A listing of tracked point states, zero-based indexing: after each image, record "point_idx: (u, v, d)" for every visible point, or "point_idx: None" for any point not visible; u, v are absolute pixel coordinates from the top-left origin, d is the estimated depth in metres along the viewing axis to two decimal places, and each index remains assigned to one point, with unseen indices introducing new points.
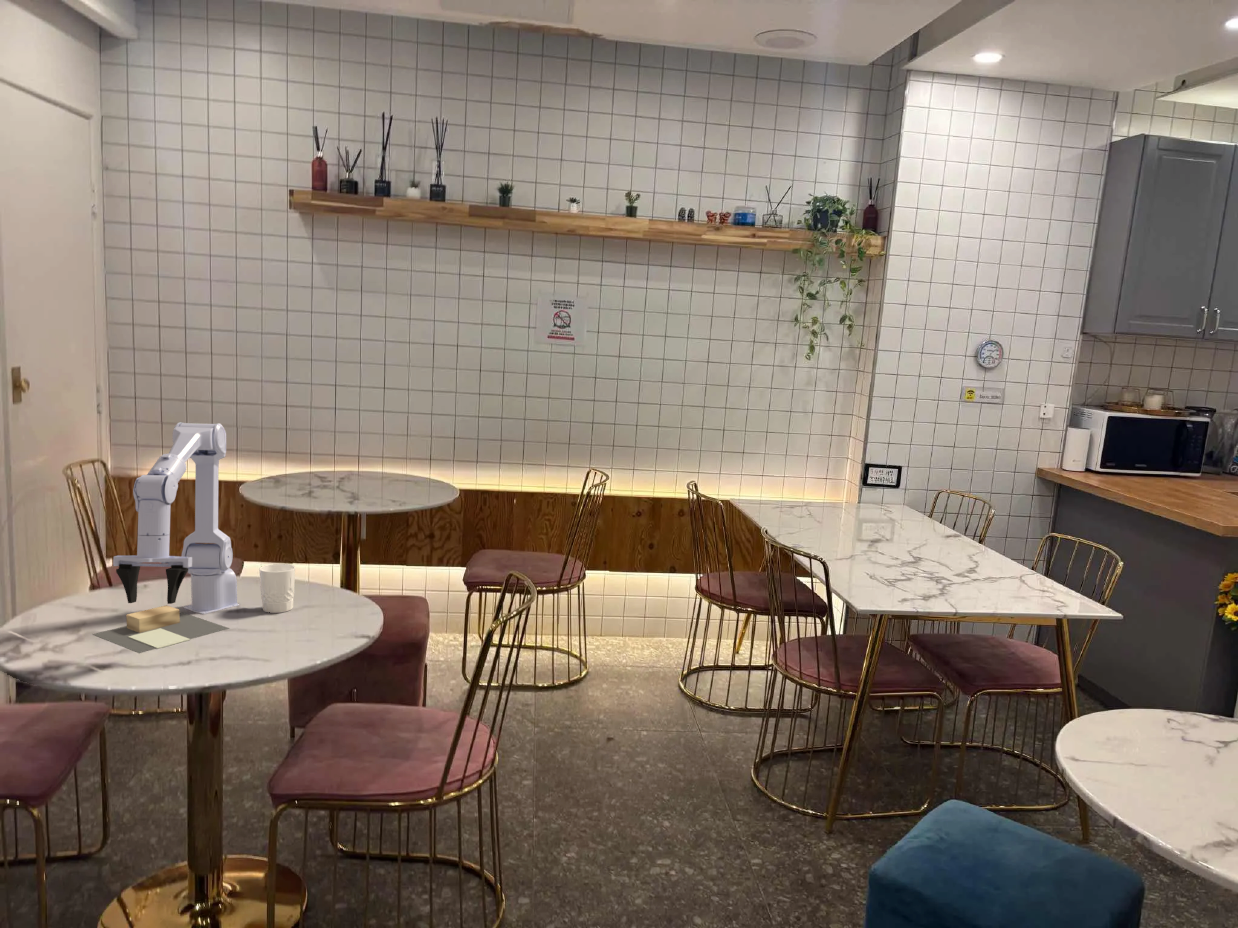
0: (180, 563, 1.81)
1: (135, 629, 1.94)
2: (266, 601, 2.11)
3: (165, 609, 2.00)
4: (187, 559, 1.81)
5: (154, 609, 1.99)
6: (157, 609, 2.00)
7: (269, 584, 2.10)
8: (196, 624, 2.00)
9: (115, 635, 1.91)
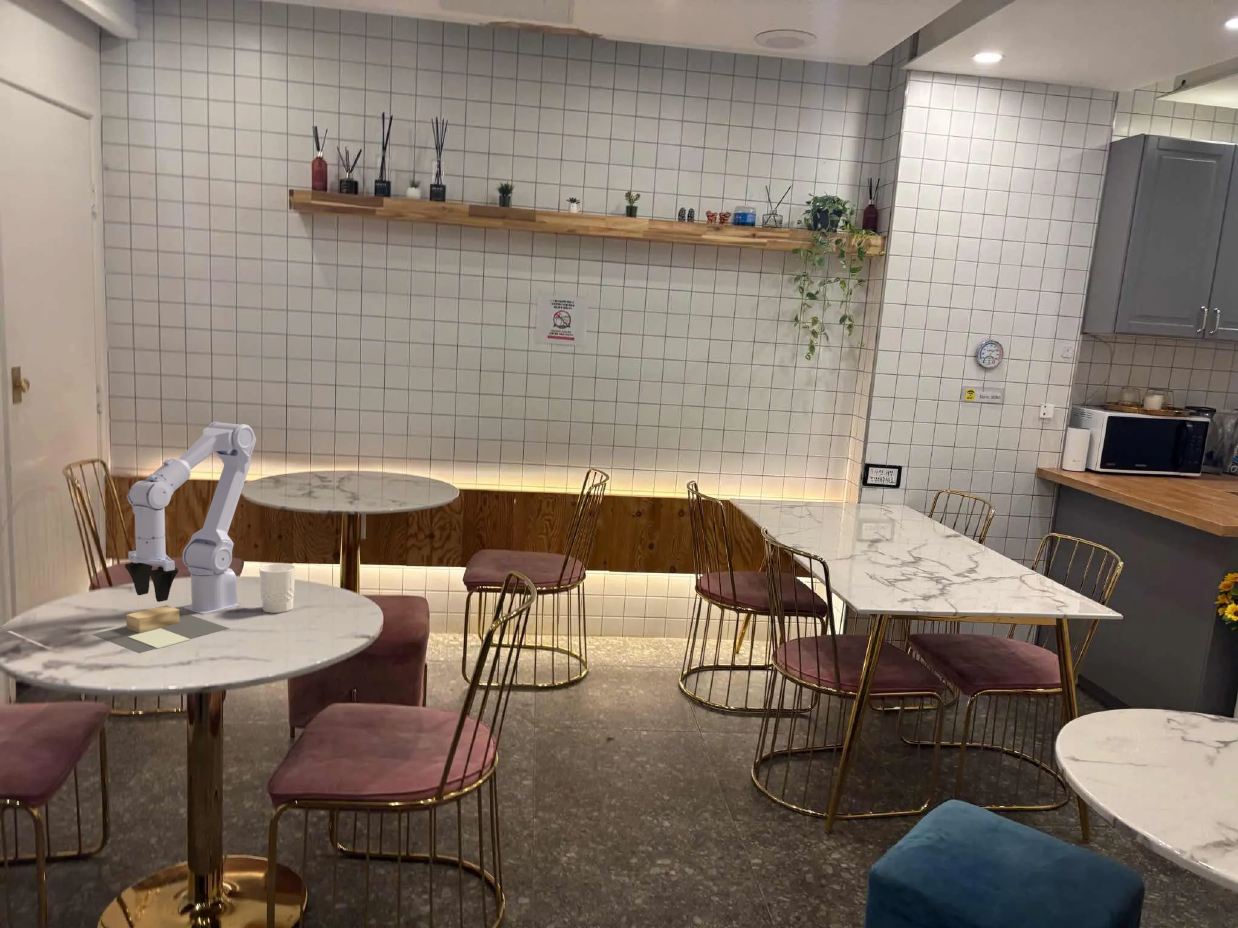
0: None
1: (135, 629, 1.94)
2: (266, 601, 2.11)
3: (165, 609, 2.00)
4: (165, 563, 1.92)
5: (154, 609, 1.99)
6: (157, 609, 2.00)
7: (269, 584, 2.10)
8: (196, 624, 2.00)
9: (115, 635, 1.91)
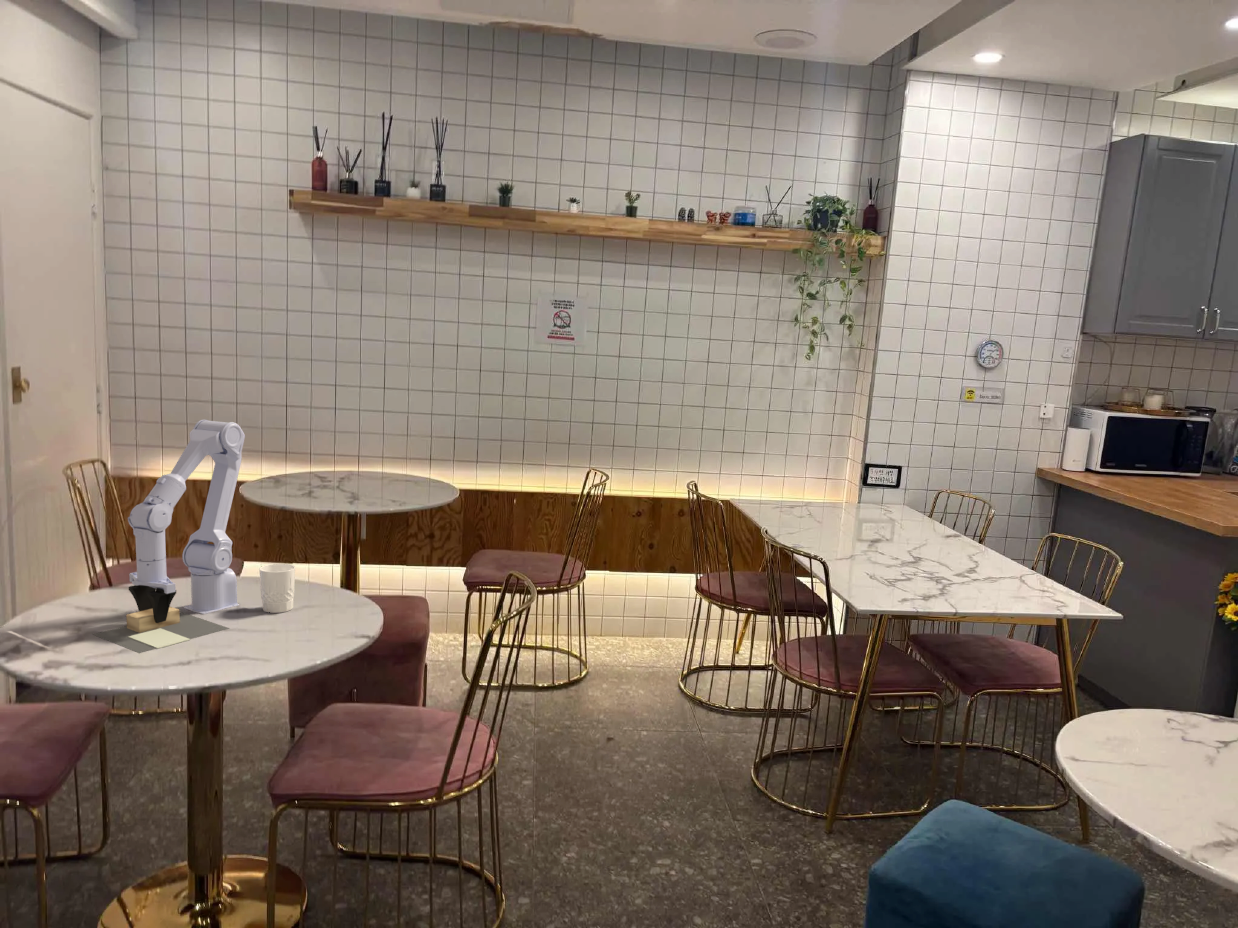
0: None
1: (135, 629, 1.94)
2: (266, 601, 2.11)
3: None
4: (166, 586, 1.92)
5: None
6: None
7: (269, 584, 2.10)
8: (196, 624, 2.00)
9: (115, 635, 1.91)
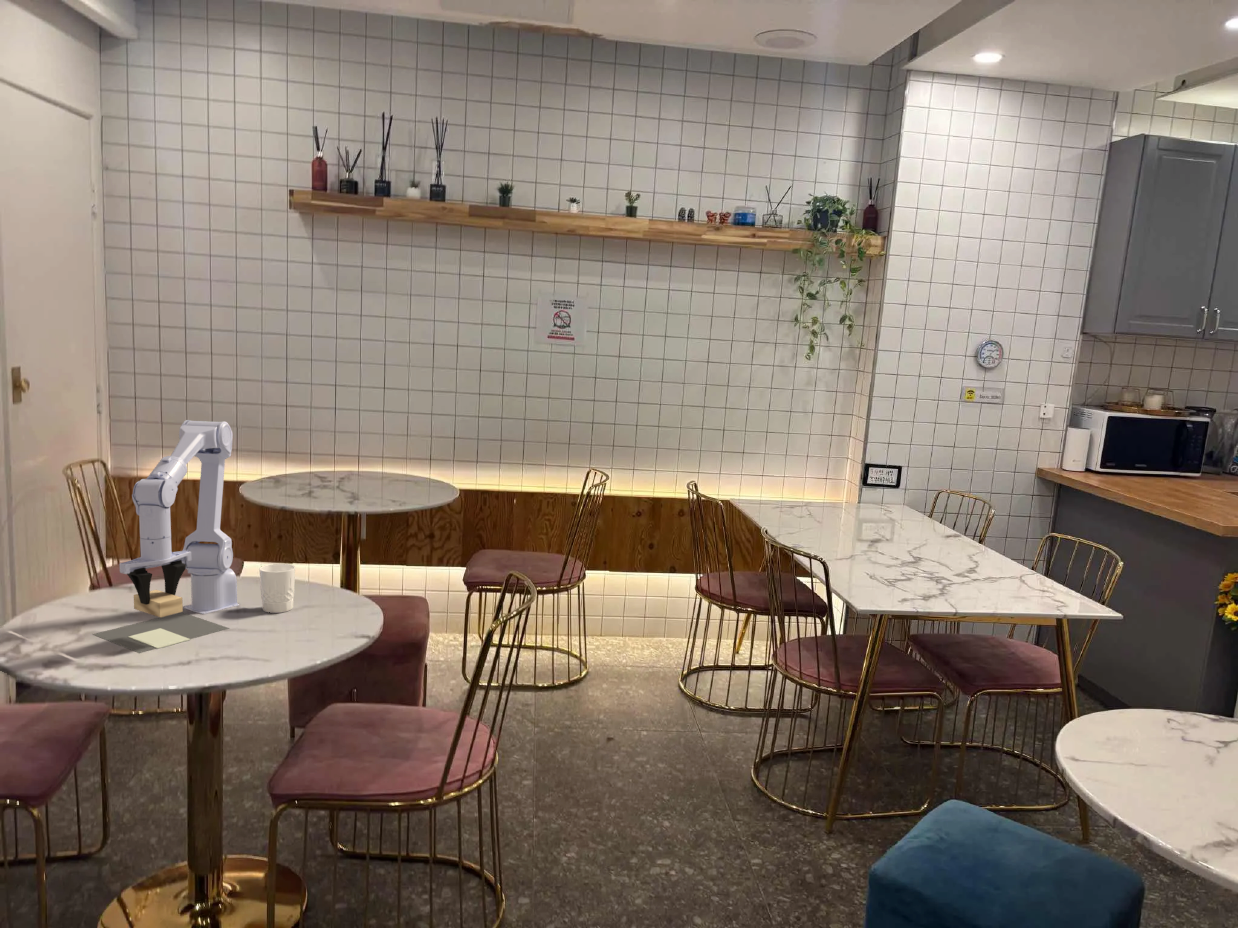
0: None
1: None
2: (266, 601, 2.11)
3: (164, 598, 1.87)
4: None
5: (166, 595, 1.89)
6: (167, 596, 1.89)
7: (269, 584, 2.10)
8: (196, 624, 2.00)
9: (115, 635, 1.91)
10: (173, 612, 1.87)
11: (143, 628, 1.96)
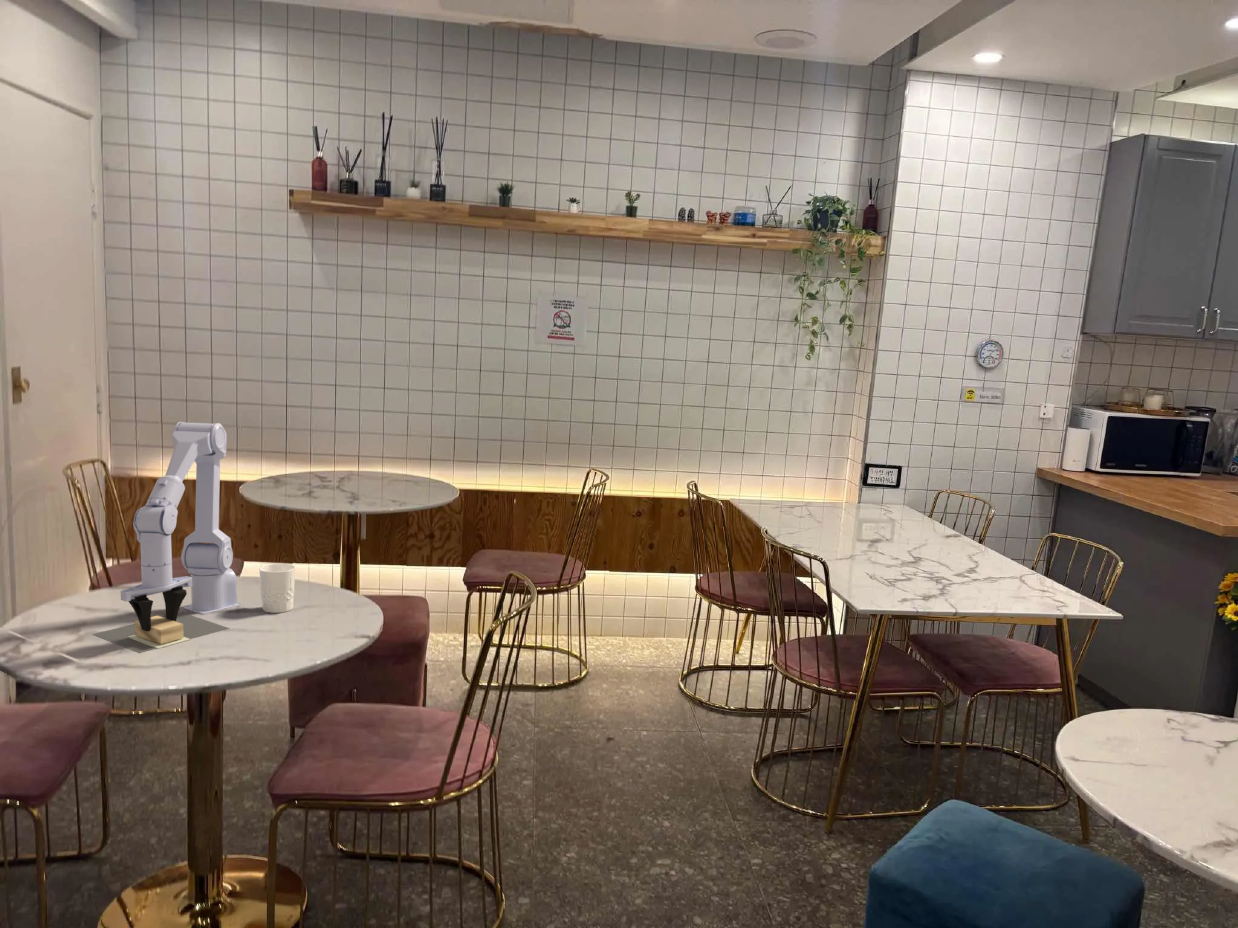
0: None
1: None
2: (266, 601, 2.11)
3: (165, 625, 1.88)
4: None
5: (167, 622, 1.90)
6: (168, 622, 1.90)
7: (269, 584, 2.10)
8: (196, 624, 2.00)
9: (115, 635, 1.91)
10: (174, 638, 1.88)
11: None
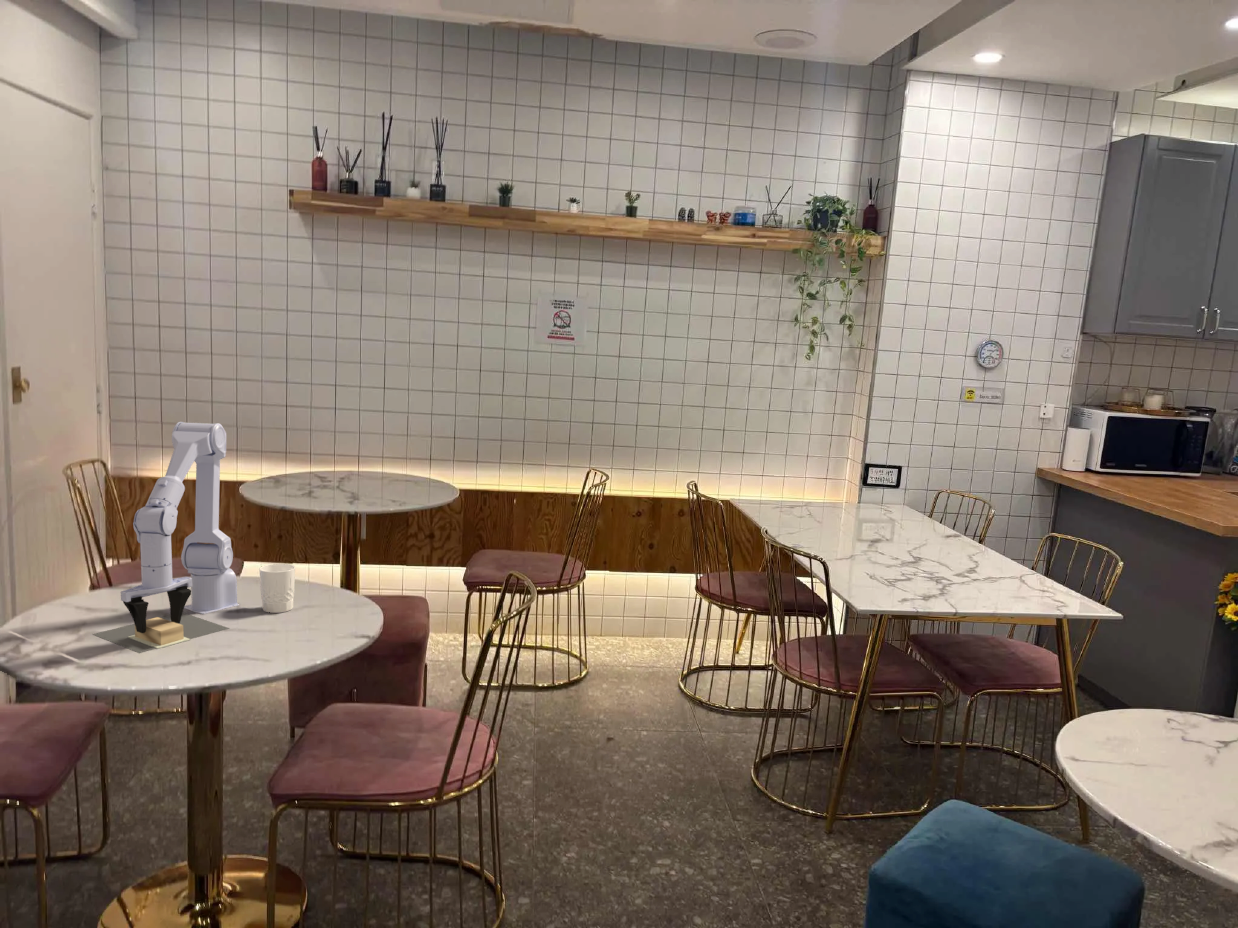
0: None
1: None
2: (266, 601, 2.11)
3: (165, 626, 1.88)
4: None
5: (167, 623, 1.90)
6: (168, 624, 1.90)
7: (269, 584, 2.10)
8: (196, 624, 2.00)
9: (115, 635, 1.91)
10: (174, 640, 1.88)
11: None
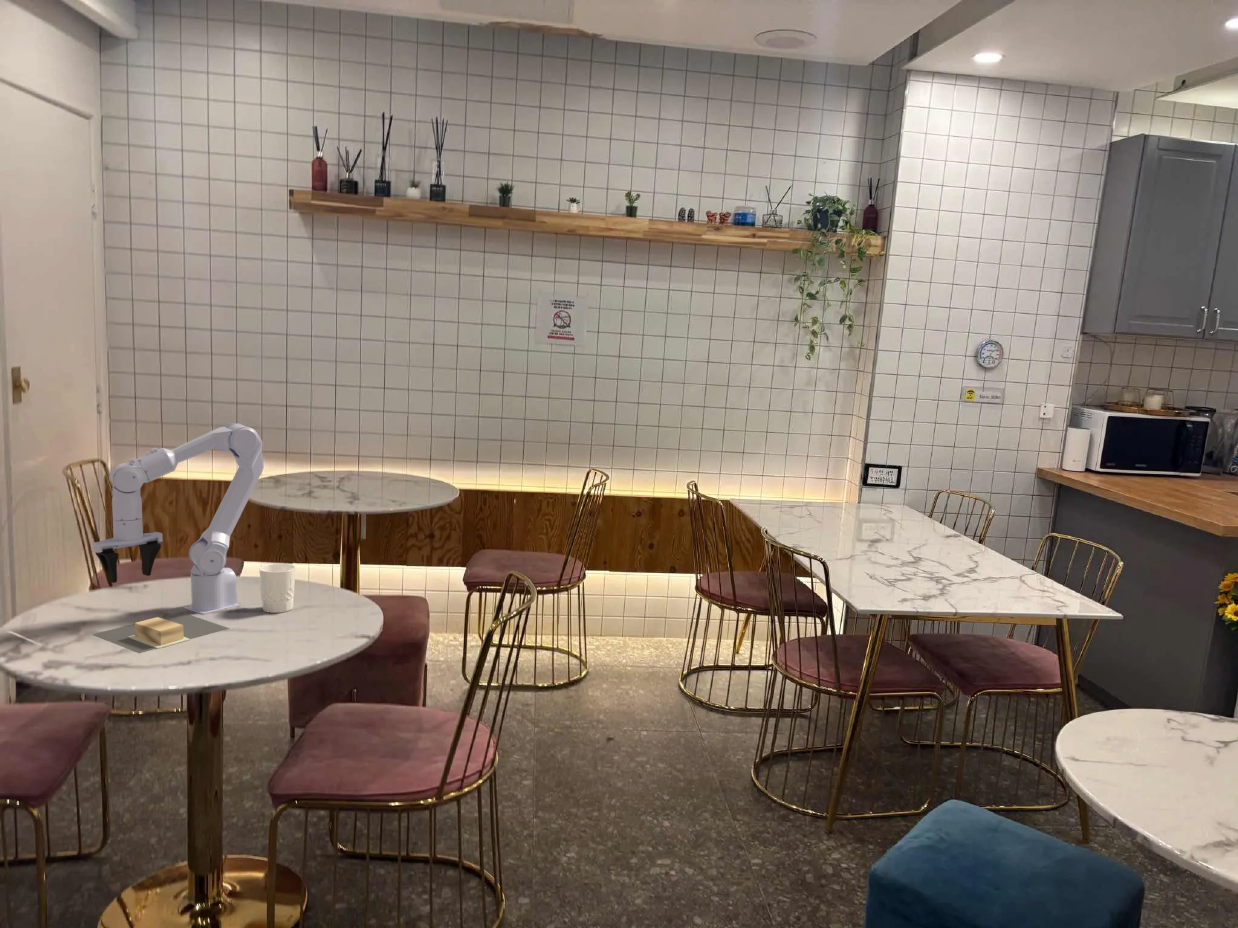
0: None
1: None
2: (266, 601, 2.11)
3: (165, 626, 1.88)
4: None
5: (167, 623, 1.90)
6: (168, 624, 1.90)
7: (269, 584, 2.10)
8: (196, 624, 2.00)
9: (115, 635, 1.91)
10: (174, 640, 1.88)
11: None
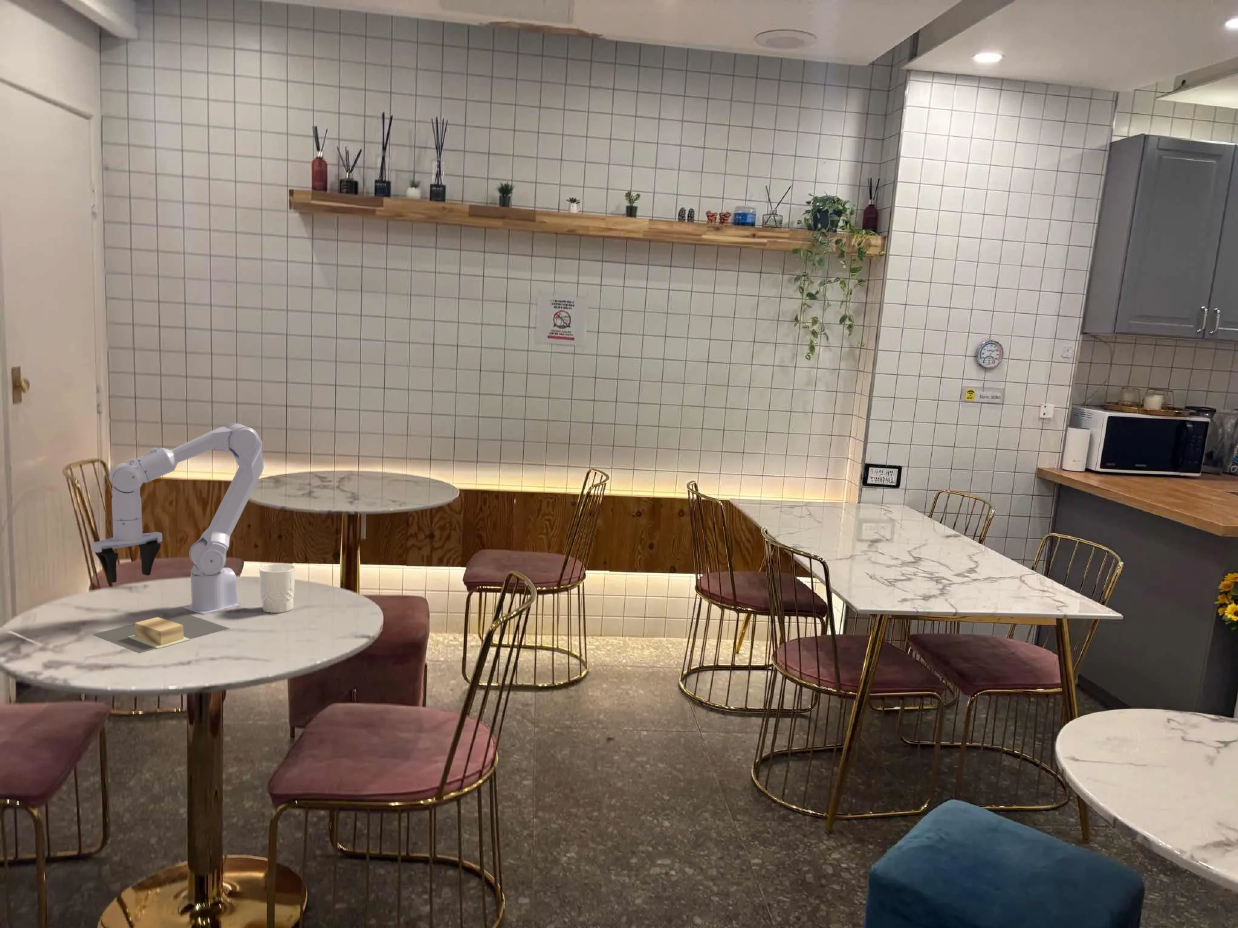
0: None
1: None
2: (266, 601, 2.11)
3: (165, 626, 1.88)
4: None
5: (167, 623, 1.90)
6: (168, 624, 1.90)
7: (269, 584, 2.10)
8: (196, 624, 2.00)
9: (115, 635, 1.91)
10: (174, 640, 1.88)
11: None
